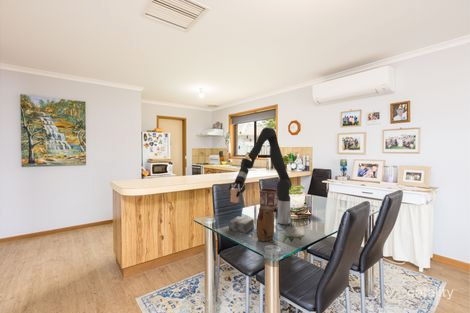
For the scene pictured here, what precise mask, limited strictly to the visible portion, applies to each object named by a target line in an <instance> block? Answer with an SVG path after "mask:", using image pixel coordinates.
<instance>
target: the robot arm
mask: <svg viewBox="0 0 470 313" xmlns="http://www.w3.org/2000/svg"><path fill="white" fill-rule="evenodd" d="M266 141H268V144H269V158H270V161H271V164H272V166H273V168H274V170H275V171H276V173H277V175H278V179H279V181H278V182H277V185H276V190H277V196H278V207H277V219H276V220H277V223H278V224H281V225H289V224H290V223H291V220H292V218H291V215H292V214H291V212H292V210H291V196H290V190H291V188H292V186H293V185H292V180H291V178H290V176H289V173H288V172H287V168H286V164H285V161H284V157H283V155H282V151H281V147H280V145H279V141H278V137H277V131H276V129H275V128H273V127H269V126H267V127H263V128H262V129H261V131H260V134H259V135H258V138H257V139H256V142H255V144H254V145H253V147H252V148H251V150H250V151H249V153H248V158H247V157H243V158H241V161H240V169H239V172H238V173H237V175H236V177H235V180H234V183H233V184H232V183H229V187H228V191H229V197H231V189H232V188H237V189H239V190H238V192H237V195H236V197H239V198H240V195H241V194H244V192H245V190H246V189H247V185H245V182H246V180H247V178H248V177H247V176H248V174H249V170H250V169H252V168H253V166H254V165H255V161H256V159H257V157H258V156H259V155H260V153H261V151H262V148H263V146H264V144H265V142H266Z"/></svg>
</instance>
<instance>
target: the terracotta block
mask: <svg viewBox="0 0 470 313" xmlns="http://www.w3.org/2000/svg"><path fill="white" fill-rule="evenodd" d="M238 190H239V189H237V188H232V189H231V196H230V203H235V204H237V203H239V202H240V196H239V197H236V195H237V192H238Z"/></svg>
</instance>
